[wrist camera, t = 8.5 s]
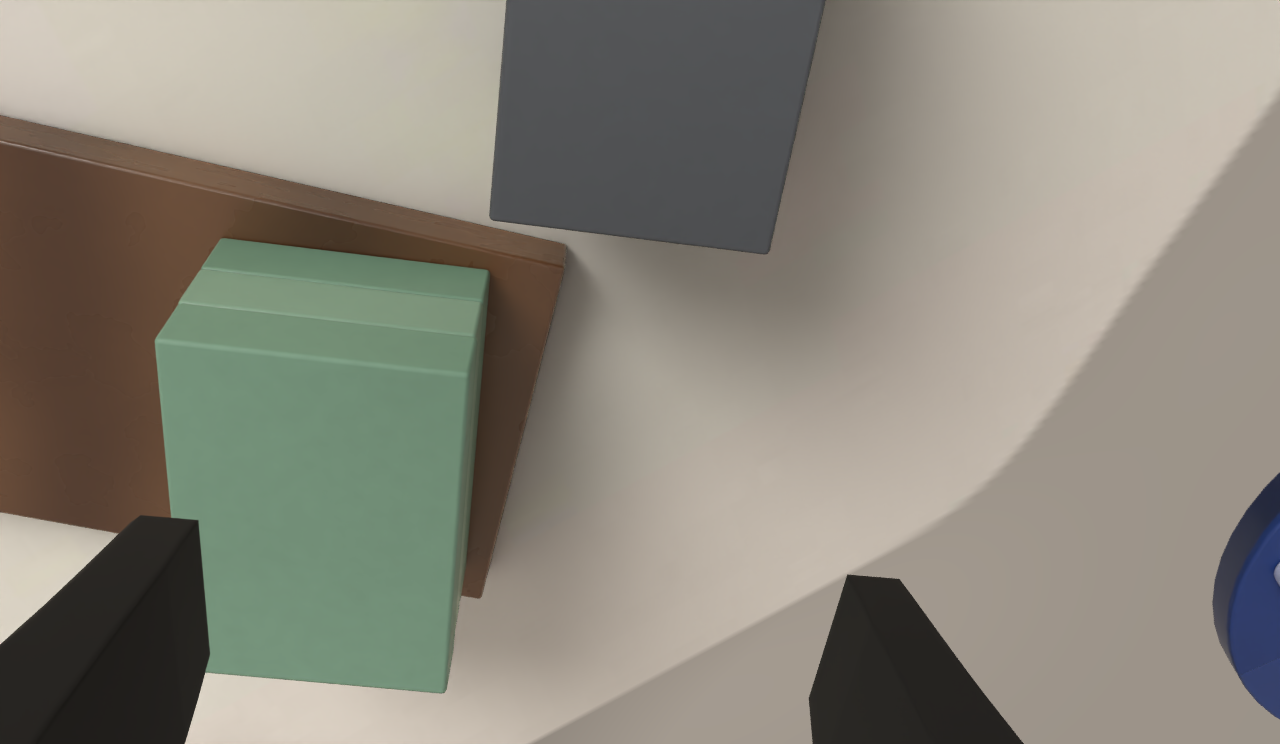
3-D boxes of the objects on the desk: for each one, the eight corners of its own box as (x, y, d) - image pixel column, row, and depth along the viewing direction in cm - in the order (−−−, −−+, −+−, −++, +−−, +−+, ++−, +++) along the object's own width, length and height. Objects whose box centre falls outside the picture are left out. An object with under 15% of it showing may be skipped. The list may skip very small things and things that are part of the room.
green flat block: (490, 268, 21) (476, 335, 19) (466, 566, 25) (452, 648, 23) (220, 235, 21) (175, 301, 19) (237, 543, 24) (202, 626, 22)
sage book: (478, 335, 19) (470, 374, 18) (453, 648, 23) (445, 696, 22) (178, 300, 19) (151, 338, 18) (203, 625, 22) (184, 672, 21)
